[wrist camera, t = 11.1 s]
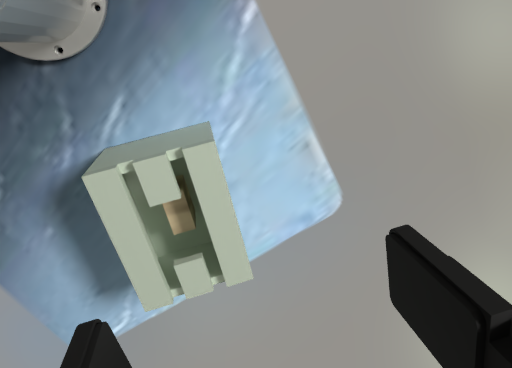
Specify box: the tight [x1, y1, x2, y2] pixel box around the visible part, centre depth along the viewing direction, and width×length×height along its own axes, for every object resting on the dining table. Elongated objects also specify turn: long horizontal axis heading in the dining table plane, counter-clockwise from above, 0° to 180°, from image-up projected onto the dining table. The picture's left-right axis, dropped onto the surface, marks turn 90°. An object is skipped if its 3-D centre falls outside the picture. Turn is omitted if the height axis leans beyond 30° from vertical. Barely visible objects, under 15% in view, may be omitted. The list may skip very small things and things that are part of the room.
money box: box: [81, 121, 254, 312], centre depth 37 cm, size 16×12×9 cm
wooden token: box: [163, 175, 196, 235], centre depth 39 cm, size 4×2×5 cm
